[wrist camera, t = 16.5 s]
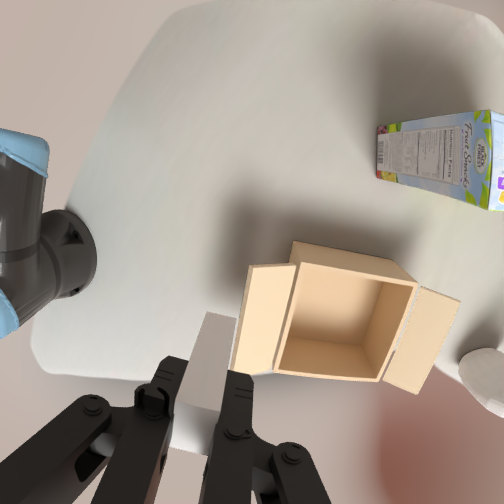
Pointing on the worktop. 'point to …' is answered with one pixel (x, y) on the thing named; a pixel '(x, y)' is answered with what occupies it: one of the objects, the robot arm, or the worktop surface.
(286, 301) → the flap
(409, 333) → the flap
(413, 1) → the worktop surface
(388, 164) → the snack box
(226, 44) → the worktop surface
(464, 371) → the soap bottle
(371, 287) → the carton
